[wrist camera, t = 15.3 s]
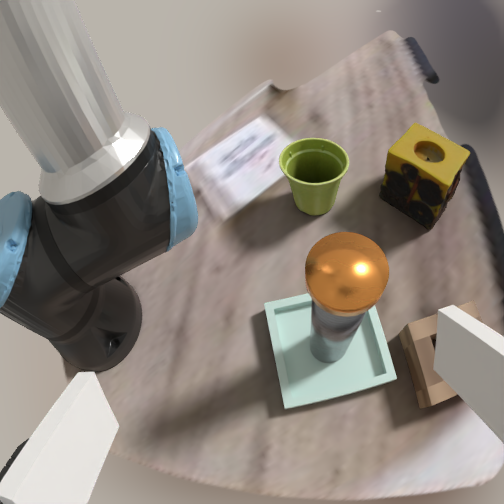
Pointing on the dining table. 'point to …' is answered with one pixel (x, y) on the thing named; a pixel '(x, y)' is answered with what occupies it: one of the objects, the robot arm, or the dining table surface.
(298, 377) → the tray
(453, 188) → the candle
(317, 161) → the plant pot
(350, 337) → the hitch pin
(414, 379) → the socket collar
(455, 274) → the dining table surface
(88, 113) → the robot arm
